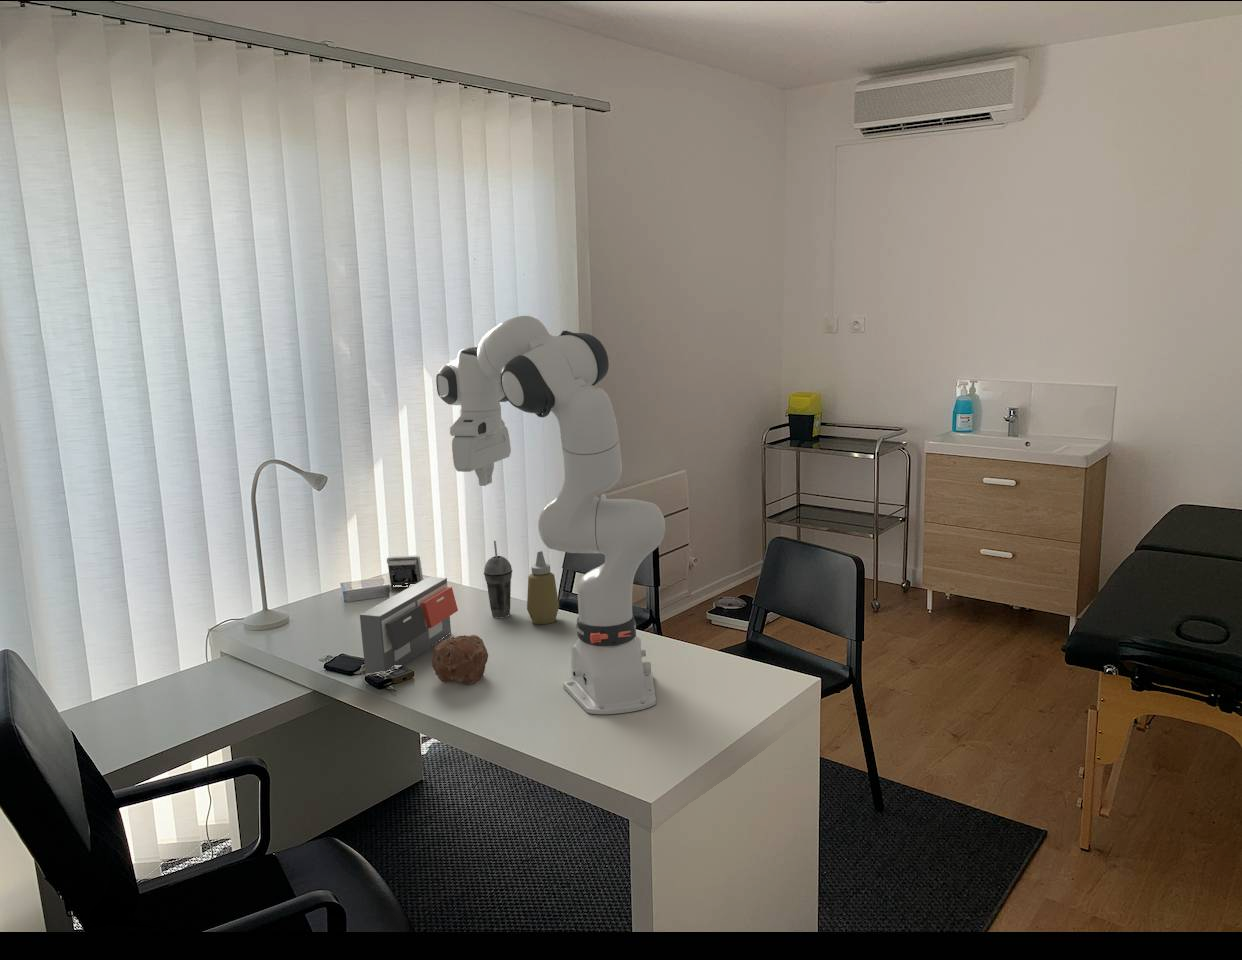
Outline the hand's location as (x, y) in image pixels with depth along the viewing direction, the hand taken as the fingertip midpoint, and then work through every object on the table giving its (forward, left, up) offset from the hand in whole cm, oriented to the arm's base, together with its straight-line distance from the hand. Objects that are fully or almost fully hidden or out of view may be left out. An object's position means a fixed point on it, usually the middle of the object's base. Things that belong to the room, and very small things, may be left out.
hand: (485, 484), depth 205 cm
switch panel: (+5, +19, -39) cm, 44 cm away
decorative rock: (-14, +9, -39) cm, 43 cm away
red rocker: (+8, +11, -33) cm, 36 cm away
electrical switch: (+59, +21, -39) cm, 74 cm away
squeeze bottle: (+17, -13, -39) cm, 45 cm away
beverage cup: (+25, -3, -39) cm, 47 cm away
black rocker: (-4, +19, -33) cm, 38 cm away
